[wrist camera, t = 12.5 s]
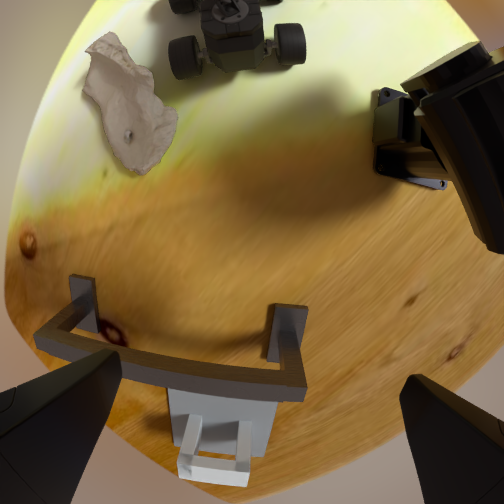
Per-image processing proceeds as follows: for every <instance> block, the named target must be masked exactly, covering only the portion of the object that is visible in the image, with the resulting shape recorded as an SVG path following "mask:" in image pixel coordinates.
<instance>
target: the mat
mask: <svg viewBox="0 0 504 504" xmlns="http://www.w3.org/2000/svg"><path fill="white" fill-rule="evenodd" d="M168 395H169V406H170V415H171V423H172V432H173V439H174V446H178V447H181V445H182V441H183V437H184V433H185V430H186V426H187V422H188V418H189V415H190V414H194V415H200V416H202V436H201V441H200V446H199V450H201V451H208V452H215V453H223V454H232V455H236V444H237V434H238V427H239V421H250V422H252V432H251V456H255V457H264V454H265V450H266V447H267V443H268V439H269V436H270V432H271V428H272V424H273V420H274V417H275V413H276V409H277V405H278V402H269V401H255V400H244V399H235V398H226V397H218V396H211V395H204V394H198V393H191V392H186V391H180V390H175V389H169V388H168Z"/></svg>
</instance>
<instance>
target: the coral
mask: <svg viewBox="0 0 504 504" xmlns="http://www.w3.org/2000/svg"><path fill="white" fill-rule="evenodd" d="M85 52H87V53H89V54H90V56H91V63H90V68H89V73H88V76H87V78H86V80H85V85H84V88H83V90H82V91H83V92H85V94H86V95H89V96H91V97H92V98H93V100H94V101H96V102H97V103H98V105H99V106H100V108H101V111H102V121H103V126H104V131H105V134H107V138H108V142H109V144H110V145H111V147H112V149H113V153H114V155H115V156H116V157H118V158H119V159H120V161H121V162H122V164H123V165H124V166H125V168H128V169H129V170H130V171H136V173H138V174H139V175H141V176H142V175H144V174H146V173H147V172H148V171H149V170H150V169H151V168H152V167H154V166H155V165H156V164H158V163H160V161H161V158H162V156H163V155H164V153H165V152H166V151H167V149H168V148H169V146H170V144H171V143H172V139H173V137H174V134H175V131H176V123H177V120H178V113H177V111H176V109H175V108H173V107H169V106H167V107H166V106H164V105H163V103H162V101H161V99H160V98H158V97H157V96H156V95H155V94H154V86H155V85H154V79H153V74H152V72H150V71H149V70H148V69H147V68H146V67H144V66H140V65H136V64H135V62H134V61H133V60H132V59H131V57H130V56H129V55H128V52H127V49H126V48H125V46H123V45H122V43H121V42H120V40H119V38H118V36H117V35H116V34H115V33H113V32H110V31H109V32H108V33H107V34H105V35H104V36H102V37H100V38H99V39H98V40H96V41H95V42H94V43H93V44H92V45H91V46H90V47H88V48H87V49H86V51H85Z"/></svg>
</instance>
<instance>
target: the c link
mask: <svg viewBox="0 0 504 504" xmlns="http://www.w3.org/2000/svg"><path fill="white" fill-rule="evenodd" d="M251 432H252V422H250V421H239V427H238V434H237V444H236V456H235V461H234V460H225V459H217V458H209V457H202V456H198V451H199V446H200V441H201V436H202V416H200V415H194V414H190V415H189V418H188V422H187V426H186V430H185V433H184V437H183V441H182V445H181V449H180V452H179V456H178V460H177V467H178V473H179V478H183V479H188V480H194V481H200V482H207V483H214V484H222V485H231V486H243V487H247V483H248V479H249V475H250V458H251Z"/></svg>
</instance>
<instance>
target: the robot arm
mask: <svg viewBox="0 0 504 504" xmlns="http://www.w3.org/2000/svg"><path fill="white" fill-rule="evenodd" d="M400 85H401V86H402V88H403V89H404V91H405V92H408V94H409V95H408V94H405V93H403V92H400V91H397V90H393V89H390V88H387V87H384V88H382V89H380V91H379V96H378V108H376V109H375V114H374V128H373V140H372V142H373V144H374V145H375V152H374V161H373V170H374V172H375V173H376V174H378V175H383V176H387V177H392V178H396V179H400V180H404V181H408V182H412V183H416V184H420V185H424V186H428V187H431V188H435V189H438V190H445V189H446V187H447V182H448V181H452V182H453V184H454V186H455V188H456V190H457V193H458V195H459V197H460V199H461V201H462V204H463V206H464V208H465V211H466V213H467V216H468V218H469V221H470V223H471V226H472V228H473V231H474V234H475V235H476V236H477V237H478V238H479V239H480V240H481V241H482V242H483V243H484V244H486V247H487V249H488V250H489V251H492V252H495V253H498V254H503V255H504V46H503V47H501V48H499V49H496V50H494V51H492V52H489V53H488V52H487V50H486V49H485V47H484V46H483V44H482V43H481V41H476V42H470V43H467V44H465V45H463V46H462V47H460V48H458V49H456V50H454V51H452V52H450V53H449V54H447V55H445V56H443V57H442V58H440V59H438V60H437V61H435V62H434V63H432V64H430V65H429V66H427V67H426V68H424V69H423V70H421V71H419V72H418V73H416V74H415V75H413V76H412V77H410V78H409V79H407V80H406V81H404V82H403V83H401V84H400ZM384 92H386V93H387V94H388V97H386V96H385V95H384ZM380 164H381V165H382V170H381V171H380V170H379V169H378V166H379V165H380ZM440 181H442V186H440ZM121 379H122V367H121V361H120V355H119V352H118V351H117V350H114V349H110V348H104V349H102V350H99V351H97V352H95V353H93V354H90V355H88V356H86V357H84V358H81V359H79V360H77V361H75V362H72V363H70V364H68V365H65V366H63V367H61V368H59V369H56V370H54V371H52V372H49V373H47V374H45V375H42V376H40V377H38V378H35V379H33V380H30V381H28V382H26V383H23V384H21V385H18V386H17V388H16V387H14V388H11V389H9V390H6V391H4V392H1V393H0V504H70V503H71V501H72V498H73V496H74V493H75V491H76V488H77V486H78V484H79V481H80V479H81V477H82V474H83V472H84V470H85V467H86V465H87V463H88V460H89V458H90V456H91V454H92V452H93V449H94V447H95V445H96V443H97V440H98V438H99V436H100V434H101V432H102V430H103V428H104V425H105V423H106V421H107V419H108V417H109V414H110V411H111V408H112V405H113V402H114V399H115V396H116V393H117V390H118V387H119V385H120V382H121ZM399 400H400V405H401V410H402V414H403V419H404V424H405V430H406V434H407V439H408V442H409V446H410V449H411V452H412V456H413V459H414V463H415V466H416V470H417V474H418V478H419V481H420V486H421V490H422V494H423V498H424V503H425V504H504V422H503V421H501V420H500V419H497V418H496V417H494V416H493V415H491V414H489V413H487V412H486V411H484V410H482V409H480V408H479V407H477V406H475V405H473V404H472V403H470V402H468V401H466V400H465V399H463V398H461V397H459V396H458V395H456V394H455V393H453V392H451V391H449V390H448V389H446V388H444V387H443V386H441V385H439V384H437V383H436V382H434V381H432V380H431V379H429V378H427V377H426V376H424V375H422V374H412V375H410V376H409V377H408V378H407V380H406V382H405V384H404V387H403V389H402V391H401V393H400V397H399Z"/></svg>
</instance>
